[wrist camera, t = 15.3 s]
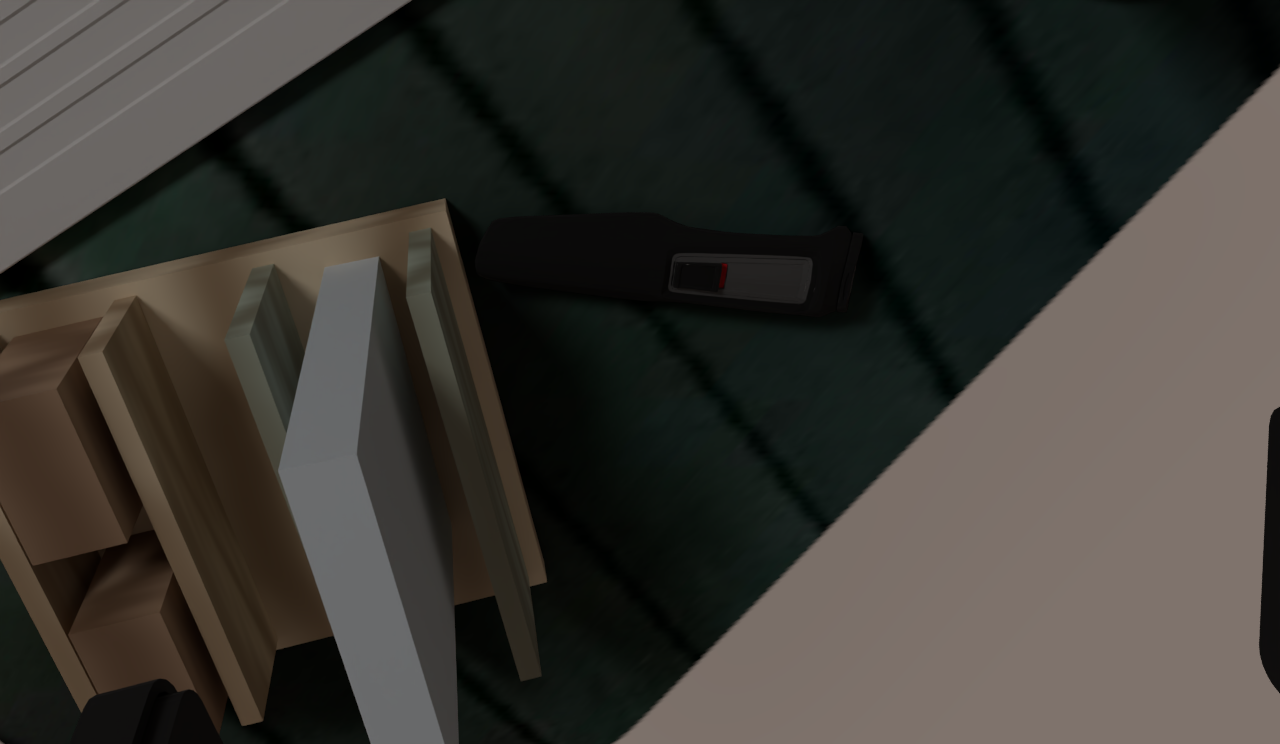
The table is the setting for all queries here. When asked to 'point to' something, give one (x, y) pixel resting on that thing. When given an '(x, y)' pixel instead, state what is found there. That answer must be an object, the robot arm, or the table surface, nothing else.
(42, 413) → the offcut
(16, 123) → the baseboard
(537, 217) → the electric trimmer
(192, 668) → the offcut
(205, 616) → the rack
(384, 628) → the sheet
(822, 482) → the table surface
